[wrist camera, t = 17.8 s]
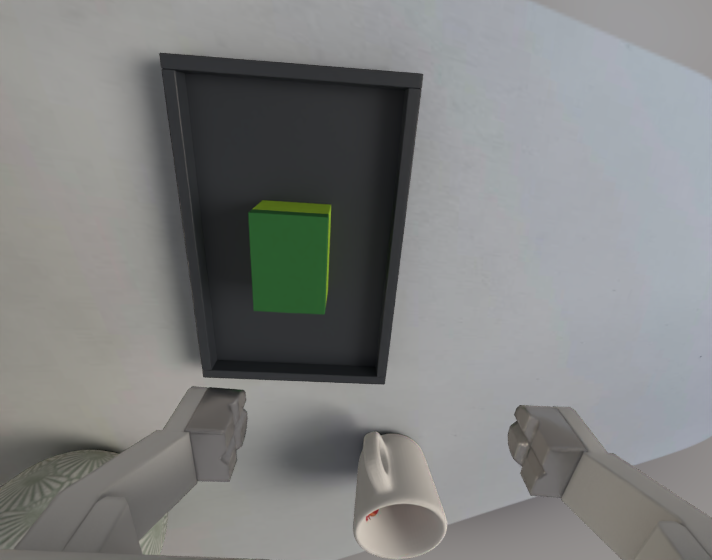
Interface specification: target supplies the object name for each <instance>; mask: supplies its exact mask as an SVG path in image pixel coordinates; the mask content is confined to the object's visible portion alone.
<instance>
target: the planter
mask: <svg viewBox="0 0 712 560" xmlns="http://www.w3.org/2000/svg"><path fill="white" fill-rule="evenodd" d="M117 455H118V453H114V452H109V451H102V450H78V451H73V452H68V453H64V454H60V455H56V456H53V457H50V458H48V459H46V460H44V461H41V462H39V463H37V464H35V465H33V466H32V467H30V468H28V469H27V470H25V471H24V472H22V473H20V474H19V475H17V476H16V477H14V478H13V479H12V480H10V481H9V482H8V483H6V484H5V485H4V486H2V487H1V488H0V549H12V550H13V549H14V547H15V546H16V545H17V544H18V542H19V541H20V540H21V539H22V538H23V536H24V535H25V534H26V533H27V531H28V530H29V529H30V528H31V526H32V525H33V524H34V523H35V521H36V520H37V519H38V518H39V516H40V515H41V514H42V513H43V511H44V510H45V509H46V508H47V506H48V505H49V504H50V503H51V501H52V500H53V499H54V498H55V497H56V495H57V494H58V493H59V492H60V491H62V490H63V489H65V488H66V487H68V486H70V485H71V484H73V483H74V482H76V481H77V480H79V479H81V478H82V477H84V476H85V475H87V474H89V473H90V472H92V471H93V470H95V469H96V468H98V467H100V466H101V465H103V464H104V463H106V462H107V461H109V460H111V459H112V458H114V457H115V456H117ZM167 519H168V512H167V513H166V514H165V515H164V516H163V517H162V518H161V519H160V520H159V521H158V522H157V523H156V524H155V525H154V526H153V527H152V528H151V529H150V530H149V531H148V532H147V533H146V534H145V535H144V536H143V537H142V538H141V539H140V540H139V543H140V547H141V550H142V554H143V555H160V553H161V550H162V547H163V543H164V539H165V534H166V528H167Z"/></svg>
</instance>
